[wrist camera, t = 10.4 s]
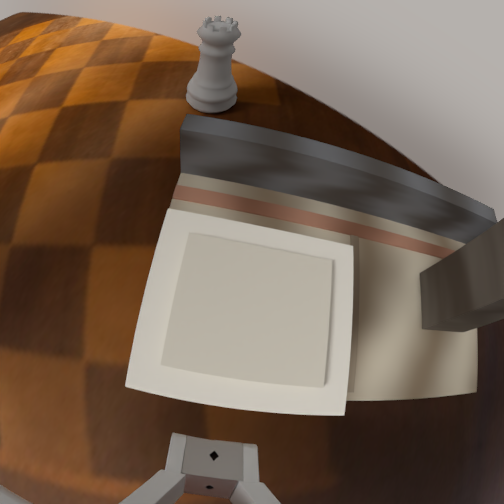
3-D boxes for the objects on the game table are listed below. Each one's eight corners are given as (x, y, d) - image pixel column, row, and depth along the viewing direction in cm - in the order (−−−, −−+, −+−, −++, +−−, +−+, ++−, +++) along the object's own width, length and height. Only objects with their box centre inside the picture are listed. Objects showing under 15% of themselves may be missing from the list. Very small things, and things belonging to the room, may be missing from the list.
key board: (133, 371, 15) (107, 368, 10) (186, 166, 21) (186, 113, 16) (467, 392, 17) (515, 386, 13) (457, 235, 23) (493, 209, 18)
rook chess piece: (212, 81, 25) (222, 8, 18) (246, 102, 25) (264, 26, 17) (175, 98, 23) (177, 20, 16) (208, 123, 23) (218, 38, 16)
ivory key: (170, 380, 14) (122, 386, 5) (184, 306, 16) (167, 203, 7) (258, 395, 14) (348, 416, 5) (267, 321, 16) (356, 242, 7)
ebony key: (422, 329, 17) (543, 278, 8) (419, 273, 19) (524, 202, 10) (463, 332, 18) (571, 289, 9) (459, 282, 19) (555, 225, 10)
